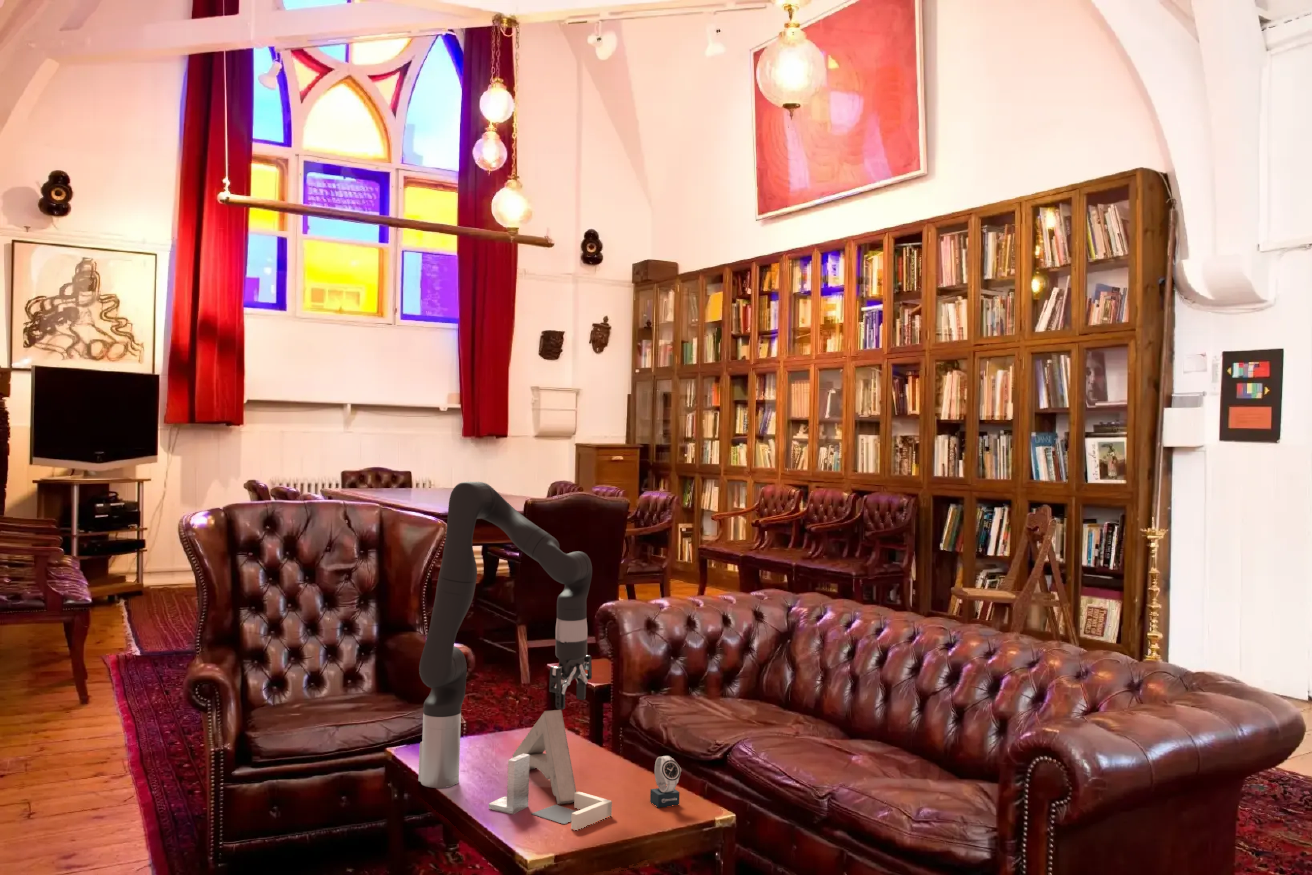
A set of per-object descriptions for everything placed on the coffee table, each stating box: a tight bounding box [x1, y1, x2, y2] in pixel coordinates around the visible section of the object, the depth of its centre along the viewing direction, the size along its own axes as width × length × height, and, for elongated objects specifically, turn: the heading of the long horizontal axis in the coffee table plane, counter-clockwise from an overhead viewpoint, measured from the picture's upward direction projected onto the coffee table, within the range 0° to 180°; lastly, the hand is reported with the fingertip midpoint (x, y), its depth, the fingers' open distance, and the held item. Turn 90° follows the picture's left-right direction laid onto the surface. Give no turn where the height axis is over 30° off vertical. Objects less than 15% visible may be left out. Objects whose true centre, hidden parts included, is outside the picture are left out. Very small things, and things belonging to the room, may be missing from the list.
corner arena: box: [570, 791, 613, 831], centre depth 227 cm, size 10×12×4 cm
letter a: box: [512, 709, 577, 805], centre depth 252 cm, size 22×4×30 cm
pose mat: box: [531, 804, 577, 825], centre depth 229 cm, size 10×8×1 cm
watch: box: [649, 755, 682, 809], centre depth 238 cm, size 6×8×11 cm
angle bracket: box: [488, 754, 530, 815], centre depth 232 cm, size 7×6×12 cm
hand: (570, 703), depth 239 cm, fingers open, 8 cm apart
